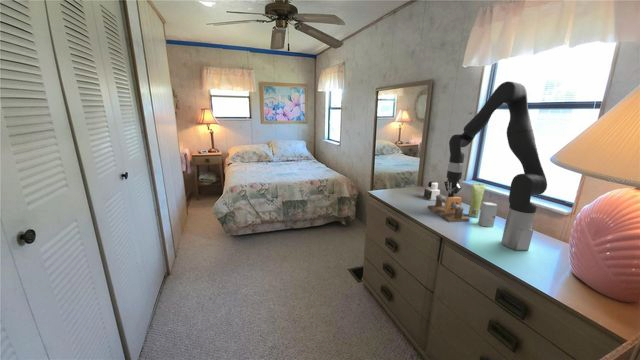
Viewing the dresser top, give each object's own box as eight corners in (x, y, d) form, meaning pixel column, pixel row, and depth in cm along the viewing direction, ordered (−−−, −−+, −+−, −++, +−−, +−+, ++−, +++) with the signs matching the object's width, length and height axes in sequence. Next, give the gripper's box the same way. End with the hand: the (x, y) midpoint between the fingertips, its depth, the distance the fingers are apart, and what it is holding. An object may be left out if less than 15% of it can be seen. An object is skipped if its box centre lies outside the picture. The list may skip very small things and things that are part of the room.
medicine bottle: (423, 197, 182) (425, 181, 179) (431, 196, 184) (434, 180, 181) (430, 200, 175) (432, 183, 172) (438, 199, 177) (441, 183, 174)
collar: (459, 212, 147) (462, 198, 145) (446, 212, 146) (448, 198, 144) (457, 210, 149) (459, 196, 147) (444, 211, 148) (446, 197, 146)
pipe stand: (469, 221, 142) (471, 206, 140) (448, 221, 141) (451, 207, 138) (445, 207, 163) (447, 194, 161) (427, 207, 162) (429, 194, 160)
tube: (470, 213, 154) (476, 182, 149) (479, 216, 150) (486, 184, 145) (466, 215, 150) (472, 183, 145) (476, 218, 146) (482, 185, 142)
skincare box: (481, 226, 136) (485, 204, 133) (477, 222, 140) (481, 201, 137) (493, 227, 136) (498, 205, 133) (489, 223, 140) (493, 202, 137)
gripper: (469, 173, 139) (463, 203, 143) (453, 167, 151) (449, 195, 156) (456, 173, 138) (451, 203, 142) (441, 167, 150) (437, 196, 155)
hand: (450, 199), depth 149 cm, fingers closed
